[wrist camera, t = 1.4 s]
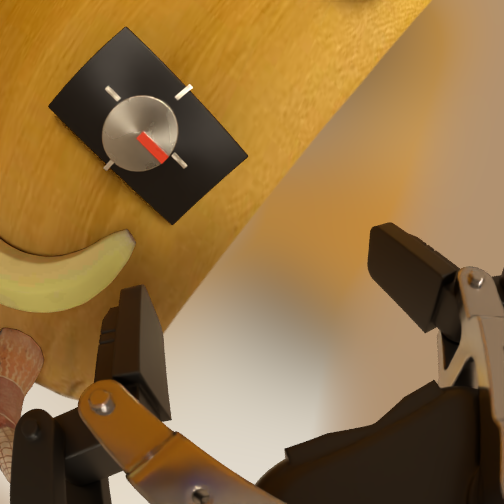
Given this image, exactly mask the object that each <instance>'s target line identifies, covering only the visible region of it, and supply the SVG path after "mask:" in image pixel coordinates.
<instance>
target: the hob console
mask: <svg viewBox="0 0 504 504" xmlns="http://www.w3.org/2000/svg"><path fill="white" fill-rule="evenodd" d="M192 88H193V87H192V86H191V85H190V84H189V85H188V86H187V87H186V86H185V85H184V84H183V83H182V82H181V81H180V80H179V79H178V78H177V76H176V75H175V74H174V73H173V72H172V71H171V70H170V69H169V68H168V67H167V66H166V65H165V64H164V63H163V62H162V61H161V60H160V59H159V58H158V57H157V56H156V55H155V54H154V53H153V52H152V51H151V50H150V49H149V48H148V47H147V46H146V45H145V44H144V43H143V42H142V41H141V40H140V39H139V38H138V37H137V36H136V35H135V34H134V33H133V32H132V31H131V30H130V29H129V28H127V27H124V28H123V29H122V30H121V31H120V32H119V33H117V34H116V35H115V36H114V37H113V38H112V39H111V40H110V41H108V42H107V43H106V44H105V45H104V46H103V47H102V48H101V49H100V50H99V51H98V52H97V53H96V54H95V55H94V56H93V57H92V58H91V59H90V60H89V61H88V62H87V63H86V64H85V65H84V66H83V67H82V68H81V69H80V70H79V71H78V72H77V73H76V74H75V75H74V76H73V78H72V79H71V80H70V81H69V82H68V83H67V84H66V85H65V86H64V88H63V89H62V90H61V91H60V92H59V93H58V95H57V96H56V97H55V98H54V99H53V101H52V102H51V103H50V104H49V106H48V107H49V108H50V109H51V110H52V111H53V112H54V113H55V114H56V115H57V116H58V117H59V118H60V119H61V120H62V121H63V122H64V123H65V124H66V125H67V126H68V127H69V128H70V129H71V130H72V131H73V132H74V133H75V134H76V135H77V136H78V137H79V138H80V139H81V140H82V141H83V142H84V143H85V144H86V145H87V146H88V147H89V148H90V149H91V150H92V151H93V152H94V153H95V154H96V155H97V156H98V157H99V158H100V159H102V160H103V161H104V162H105V163H106V165H105V166H104V169H105V170H106V171H107V170H108V169H109V168H111V169H112V170H113V171H114V172H115V173H116V174H117V175H118V176H119V177H120V178H122V179H123V180H124V181H125V182H126V183H127V184H128V185H129V186H130V187H131V188H132V189H133V190H134V191H135V192H136V193H138V194H139V195H140V196H141V197H142V198H143V199H144V200H145V201H146V202H147V203H148V204H149V205H151V206H152V207H153V208H154V209H155V210H156V211H157V212H158V213H159V214H160V215H161V216H163V217H164V218H165V219H166V220H167V221H168V222H169V223H170V224H171V225H173V224H175V223H176V222H177V221H178V220H179V219H180V218H181V217H182V216H183V215H184V214H185V213H186V212H187V211H188V210H189V209H190V208H191V207H192V206H194V205H195V204H196V203H197V202H198V201H199V200H200V199H201V198H202V197H203V196H204V195H205V194H207V193H208V192H209V191H210V190H211V189H212V188H213V187H214V186H215V185H217V184H218V183H219V182H220V181H221V180H222V179H223V178H224V177H226V176H227V175H228V174H229V173H230V172H231V171H232V170H233V169H235V168H236V167H237V166H238V165H239V164H240V163H242V162H243V161H244V160H245V159H246V158H247V157H248V155H247V154H246V153H245V151H244V150H243V149H242V148H241V147H240V146H239V144H238V143H237V142H236V141H235V140H234V139H233V138H232V136H231V135H230V134H229V133H228V132H227V131H226V130H225V128H224V127H223V126H222V125H221V124H220V123H219V122H218V121H217V120H216V118H215V117H214V116H213V115H212V114H211V113H210V112H209V111H208V110H207V109H206V107H205V106H204V105H203V104H202V103H201V102H200V101H199V100H198V99H197V98H196V97H195V96H194V94H193V93H192V92H191V91H190V89H192ZM139 95H147V96H152V97H155V98H158V99H161V100H163V101H164V102H166V103H167V104H168V105H169V106H170V107H171V109H172V110H173V112H174V114H175V117H176V119H177V123H178V139H177V143H176V146H175V148H174V150H173V152H172V153H171V155H170V156H169V157H168V158H167V159H166V160H165V161H164V162H163V163H162V164H160V165H159V166H157V167H155V168H153V169H150V170H146V171H129V170H126V169H123V168H121V167H119V166H118V165H116V164H115V163H114V162H113V161H112V160H111V159H110V158H109V157H108V155H107V154H106V152H105V150H104V147H103V143H102V129H103V125H104V122H105V119H106V117H107V116H108V114H109V113H110V111H111V110H112V109H113V108H114V107H115V106H116V105H117V104H118V103H120V102H121V101H123V100H125V99H127V98H130V97H133V96H139Z"/></svg>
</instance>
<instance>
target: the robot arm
mask: <svg viewBox="0 0 504 504" xmlns="http://www.w3.org/2000/svg"><path fill="white" fill-rule="evenodd" d="M368 270H369V273H370V275H371V277H372V279H373V280H374V281H375V282H376V283H377V284H378V285H379V286H380V287H381V288H382V289H383V290H384V291H385V292H386V293H387V294H388V295H389V296H390V297H391V298H392V299H393V300H394V301H395V302H396V303H397V304H398V305H399V306H400V307H401V308H402V309H403V310H404V311H405V312H406V313H407V314H408V315H409V317H410V318H411V319H412V320H413V321H414V322H415V323H416V324H417V325H418V326H419V327H420V328H421V329H422V330H423V331H424V333H426V332H428V331H430V330H432V329H434V328H436V327H438V329H439V332H438V334H437V344H438V345H437V347H438V367H439V379H438V384H437V383H436V382H435V380H433V381H431V382H430V383H428V384H426V385H425V386H423V387H421V388H419V389H418V390H416V391H414V392H413V393H411V394H409V395H407V396H405V397H404V398H403V399H402V400H401V401H400V402H399V403H398V404H396V405H395V406H394V407H393V408H392V409H391V410H390V411H389V412H388V413H386V414H385V415H384V416H383V417H382V418H381V419H380V420H378V421H377V422H376V423H374V424H372V425H369V426H365V427H360V428H355V429H349V430H344V431H339V432H333V433H327V434H325V435H322V436H319V437H317V438H314V439H312V440H309V441H306V442H303V443H300V444H297V445H294V446H292V447H289V448H285V459H284V460H283V461H281V462H279V463H278V464H277V465H275V466H274V467H272V468H271V469H270V470H268V471H267V472H266V473H265V474H264V475H263V476H262V477H261V478H260V479H259V480H258V481H257V483H256V484H255V485H254V484H252V483H250V482H249V481H247V480H246V479H244V478H242V477H241V476H239V475H238V474H236V473H234V472H233V471H232V470H230V469H229V468H227V467H226V466H224V465H223V464H221V463H220V462H218V461H217V460H216V459H214V458H213V457H211V456H210V455H209V454H207V453H206V452H204V451H203V450H202V449H200V448H199V447H198V446H196V445H195V444H194V443H193V442H191V441H190V440H189V439H187V438H186V437H184V436H183V435H182V434H180V433H179V432H174V431H172V430H171V429H169V428H168V427H167V426H166V425H165V424H164V423H162V421H169V420H172V419H171V412H170V403H169V395H168V385H167V376H166V365H165V353H164V339H163V332H162V328H161V325H160V322H159V319H158V317H157V314H156V312H155V309H154V307H153V304H152V302H151V299H150V297H149V294H148V292H147V289H146V287H145V286H144V285H143V284H142V285H138V286H133V287H129V288H125V289H122V290H121V293H120V300H119V306H117V307H113V308H110V310H109V311H108V313H107V314H106V316H105V317H104V319H103V322H102V327H101V335H100V340H99V343H100V345H99V347H98V354H97V361H96V369H95V378H94V383H93V384H91V385H90V386H89V387H87V388H86V389H85V390H84V392H83V393H82V395H81V396H80V399H79V402H78V407H77V408H75V409H73V410H70V411H68V412H66V413H64V414H61V415H59V416H57V417H54V418H53V417H52V416H51V415H49V414H48V413H47V412H46V411H44V410H42V409H32V410H30V411H28V412H26V413H25V414H24V415H23V416H22V417H21V418H20V419H19V421H18V423H17V425H16V427H15V432H14V440H13V450H12V461H11V479H10V504H112V503H111V496H110V489H109V481H108V477H109V476H111V475H113V474H116V473H118V472H121V471H124V472H125V473H126V478H127V480H128V481H129V482H130V484H131V485H132V486H133V487H134V488H135V489H136V490H137V491H138V492H139V493H140V494H141V495H142V496H143V497H144V498H145V499H146V500H147V501H148V502H149V503H150V504H504V269H503V272H502V275H501V276H494V277H491V276H490V275H489V274H488V273H487V272H485V271H484V270H482V269H479V268H476V267H463V268H461V269H460V268H458V267H457V266H456V265H455V264H453V263H452V262H451V261H449V260H448V259H447V258H445V257H444V256H442V255H441V254H440V253H439V252H437V251H434V249H433V248H432V247H430V246H429V245H426V243H425V242H423V241H422V240H421V239H419V238H418V237H416V236H413V235H411V234H408V233H406V232H405V231H404V230H402V229H401V228H399V227H398V226H396V225H395V224H393V223H386V224H382V225H378V226H374V227H372V229H371V231H370V240H369V253H368Z"/></svg>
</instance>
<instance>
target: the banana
mask: <svg viewBox="0 0 504 504" xmlns="http://www.w3.org/2000/svg"><path fill="white" fill-rule="evenodd" d="M135 244H136V241H135V239H134V238H133V236H132V235H131V233H130V232H129V231H128V230H127V229H126V230H122V231H119V232H115V233H113V234H110V235H109V236H107V237H105V238H103V239H101V240H100V241H98V242H96V243H94V244H93V245H91V246H89V247H87V248H85V249H83V250H80V251H77V252H74V253H71V254H67V255H63V256H55V257H44V256H37V255H31V254H27V253H24V252H22V251H19V250H17V249H15V248H13V247H11V246H10V245H8V244H6V243H5V242H4V241H2V240H1V239H0V304H3V305H5V306H7V307H10V308H14V309H17V310H22V311H28V312H38V313H48V312H58V311H63V310H66V309H70V308H73V307H76V306H79V305H81V304H84V303H86V302H87V301H89V300H90V299H92V298H93V297H94V296H96V295H97V294H98V293H100V292H101V291H102V290H104V289H105V288H106V287H107V286H108V285H109V284H110V283H111V282H112V281H113V280H114V279H115V278H116V276H117V275H118V274H119V272H120V271H121V270H122V268H123V267H124V266H125V264H126V263H127V261H128V259H129V258H130V256H131V254H132V251H133V249H134V247H135Z"/></svg>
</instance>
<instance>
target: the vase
mask: <svg viewBox="0 0 504 504" xmlns="http://www.w3.org/2000/svg"><path fill="white" fill-rule="evenodd" d="M43 361H44V359H43V355H42V352H41V349H40V347H39V346H38V345H37V344H36V342H35V341H34V340H33V339H32V338H31V337H30V336H28V335H26V334H24V333H22V332H20V331H19V330H16V329H9V328H3V329H2V330H1V331H0V469H1V471H2V472H3V474H4V475H5V477H6V479H7V480H8V482H9V483H10V479H11V461H12V450H13V440H14V432H15V427H16V425H17V423H18V421H19V419H20V417H21V411H22V405H23V401H24V397H25V396H26V394H27V392H28V391H29V390H30V388H31V387H32V385H33V384H34V382H35V380H36V378H37V376H38V374H39V372H40V370H41V368H42V365H43Z"/></svg>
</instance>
